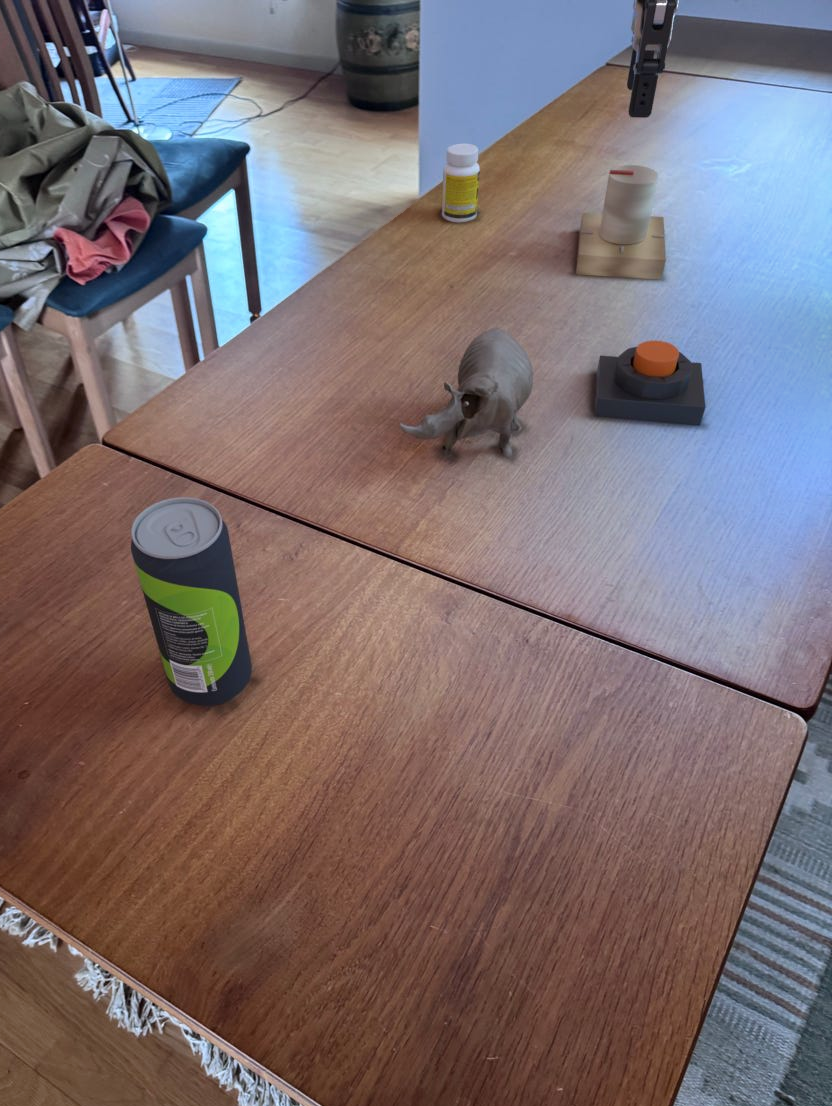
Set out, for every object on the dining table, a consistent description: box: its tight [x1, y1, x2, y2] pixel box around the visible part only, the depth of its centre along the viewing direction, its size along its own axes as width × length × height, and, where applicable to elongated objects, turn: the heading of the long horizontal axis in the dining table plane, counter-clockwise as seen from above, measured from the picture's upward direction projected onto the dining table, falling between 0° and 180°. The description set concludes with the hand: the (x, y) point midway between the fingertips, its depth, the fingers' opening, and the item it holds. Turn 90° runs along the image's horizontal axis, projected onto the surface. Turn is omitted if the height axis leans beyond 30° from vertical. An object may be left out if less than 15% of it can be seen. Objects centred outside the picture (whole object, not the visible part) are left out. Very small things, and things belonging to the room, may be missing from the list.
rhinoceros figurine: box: [398, 327, 534, 459], centre depth 84 cm, size 8×14×15 cm
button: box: [633, 340, 680, 377], centre depth 88 cm, size 4×4×2 cm
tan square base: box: [575, 212, 667, 280], centre depth 111 cm, size 10×12×3 cm
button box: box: [594, 346, 706, 427], centre depth 89 cm, size 10×8×4 cm
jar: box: [599, 164, 659, 245], centre depth 108 cm, size 6×6×7 cm
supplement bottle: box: [441, 143, 481, 224], centre depth 119 cm, size 5×5×8 cm
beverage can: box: [130, 496, 253, 707], centre depth 62 cm, size 6×6×15 cm
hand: (637, 102), depth 94 cm, fingers open, 8 cm apart
